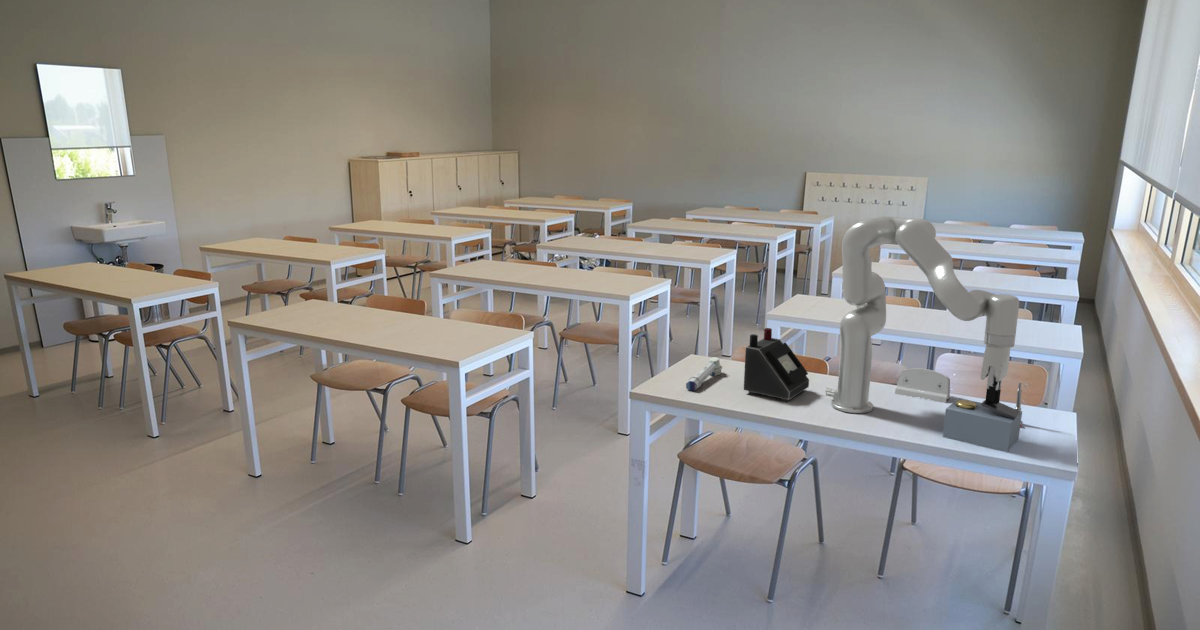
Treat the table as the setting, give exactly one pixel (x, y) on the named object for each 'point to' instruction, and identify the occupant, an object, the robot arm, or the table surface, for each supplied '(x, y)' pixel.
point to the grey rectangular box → (981, 427)
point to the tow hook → (1018, 398)
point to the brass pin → (966, 404)
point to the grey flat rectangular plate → (1002, 409)
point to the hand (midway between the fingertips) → (992, 402)
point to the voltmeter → (773, 368)
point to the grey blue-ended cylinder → (704, 374)
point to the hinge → (924, 384)
